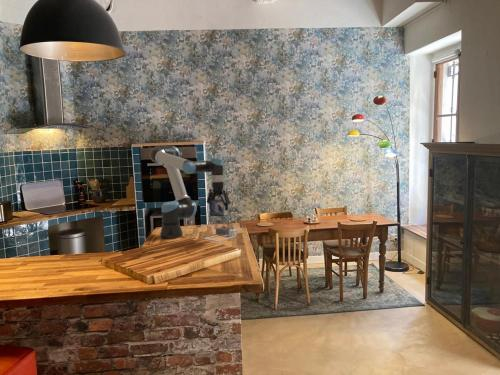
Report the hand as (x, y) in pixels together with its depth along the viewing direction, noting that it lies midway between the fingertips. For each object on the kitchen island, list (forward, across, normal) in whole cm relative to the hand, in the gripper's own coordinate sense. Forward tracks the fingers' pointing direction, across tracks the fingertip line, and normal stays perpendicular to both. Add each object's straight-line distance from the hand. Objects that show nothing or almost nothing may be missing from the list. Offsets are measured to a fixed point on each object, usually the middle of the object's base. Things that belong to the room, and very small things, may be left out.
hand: (218, 214), depth 269 cm
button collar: (+16, -7, +13) cm, 22 cm away
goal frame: (+16, 0, 0) cm, 16 cm away
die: (+16, +2, +11) cm, 19 cm away
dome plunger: (+15, -7, +13) cm, 21 cm away
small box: (+1, 0, 0) cm, 1 cm away
